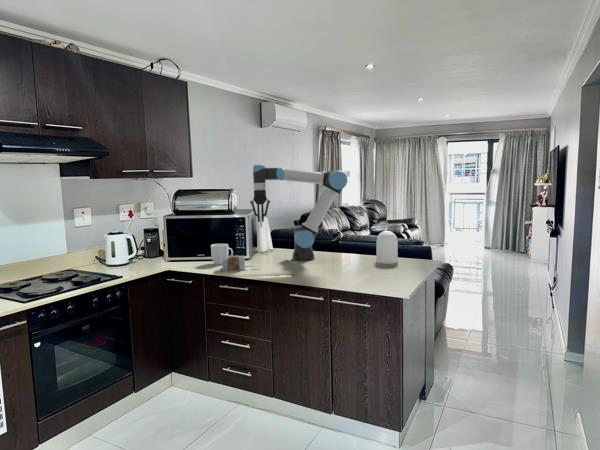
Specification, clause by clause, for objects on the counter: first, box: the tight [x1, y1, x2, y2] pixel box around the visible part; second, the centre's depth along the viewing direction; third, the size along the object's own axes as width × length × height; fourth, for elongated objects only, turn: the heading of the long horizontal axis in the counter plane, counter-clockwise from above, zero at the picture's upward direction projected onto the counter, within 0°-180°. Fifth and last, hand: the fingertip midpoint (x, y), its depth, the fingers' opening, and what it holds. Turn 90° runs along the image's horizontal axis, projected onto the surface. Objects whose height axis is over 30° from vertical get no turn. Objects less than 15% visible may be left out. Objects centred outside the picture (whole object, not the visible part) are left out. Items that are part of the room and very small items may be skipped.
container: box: [375, 230, 399, 265], centre depth 265 cm, size 14×13×20 cm
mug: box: [210, 243, 234, 266], centre depth 268 cm, size 15×11×13 cm
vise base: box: [218, 265, 261, 274], centre depth 249 cm, size 25×12×2 cm, turn 96°
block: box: [228, 254, 240, 271], centre depth 248 cm, size 6×6×8 cm
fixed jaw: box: [221, 256, 229, 272], centre depth 248 cm, size 3×8×7 cm, turn 6°
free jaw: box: [238, 255, 246, 271], centre depth 249 cm, size 3×8×7 cm, turn 6°
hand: (261, 226), depth 262 cm, fingers closed
